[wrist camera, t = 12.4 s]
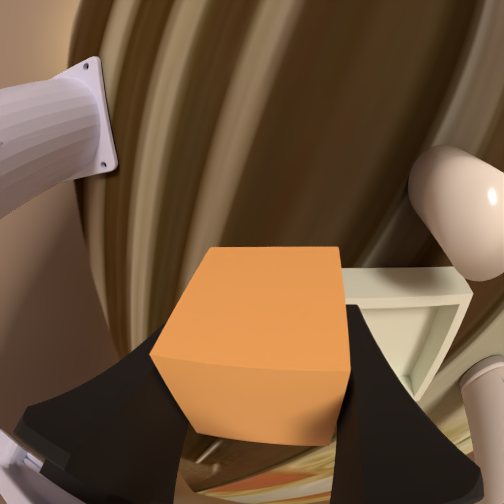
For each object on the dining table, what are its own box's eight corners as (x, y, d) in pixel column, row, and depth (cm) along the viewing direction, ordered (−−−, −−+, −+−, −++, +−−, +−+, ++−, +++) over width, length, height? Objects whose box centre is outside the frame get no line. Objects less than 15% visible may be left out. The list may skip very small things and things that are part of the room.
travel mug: (466, 394, 24) (485, 539, 7) (452, 377, 22) (473, 551, 5) (508, 367, 21) (540, 513, 4) (500, 345, 19) (542, 520, 2)
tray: (286, 378, 25) (282, 405, 23) (280, 268, 19) (275, 298, 16) (414, 375, 23) (419, 400, 20) (456, 266, 16) (473, 293, 14)
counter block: (229, 334, 13) (196, 432, 8) (210, 247, 10) (149, 354, 6) (331, 338, 12) (328, 445, 8) (338, 246, 9) (350, 370, 5)
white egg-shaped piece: (403, 222, 16) (438, 283, 11) (410, 140, 13) (460, 171, 8) (469, 224, 15) (514, 279, 10) (480, 149, 12) (540, 183, 7)
